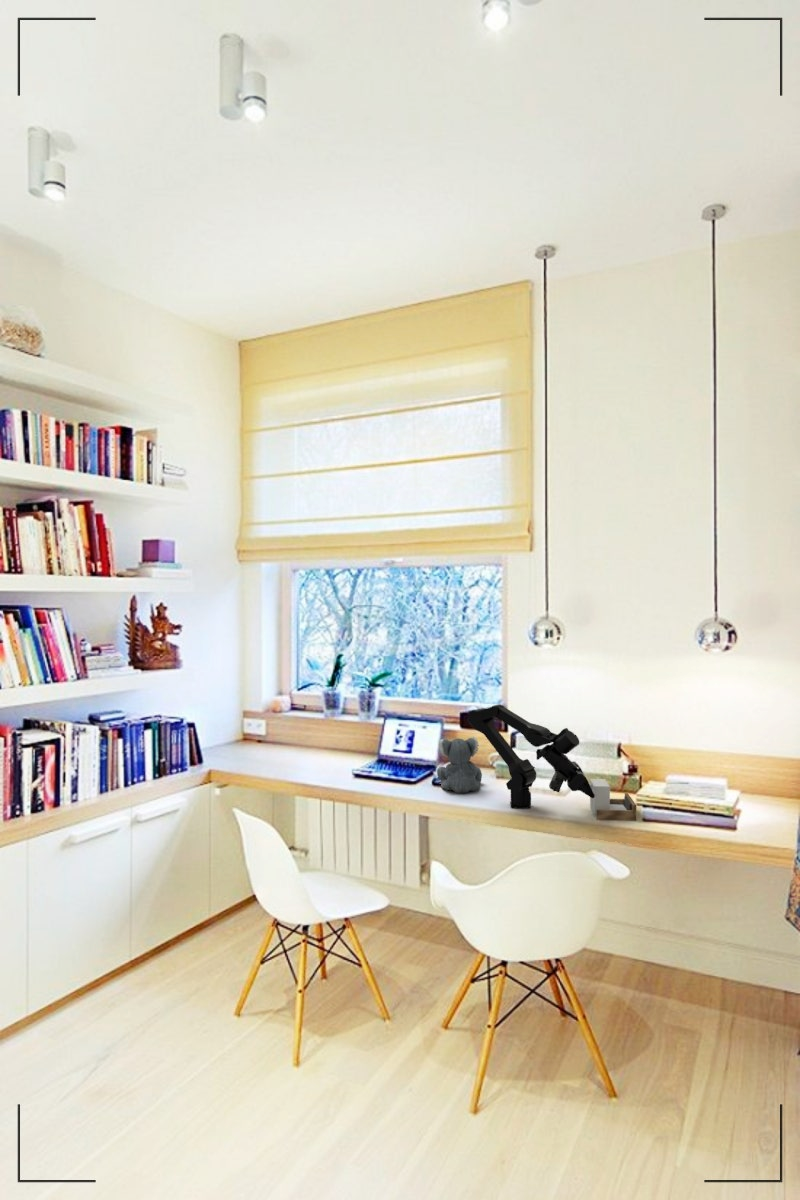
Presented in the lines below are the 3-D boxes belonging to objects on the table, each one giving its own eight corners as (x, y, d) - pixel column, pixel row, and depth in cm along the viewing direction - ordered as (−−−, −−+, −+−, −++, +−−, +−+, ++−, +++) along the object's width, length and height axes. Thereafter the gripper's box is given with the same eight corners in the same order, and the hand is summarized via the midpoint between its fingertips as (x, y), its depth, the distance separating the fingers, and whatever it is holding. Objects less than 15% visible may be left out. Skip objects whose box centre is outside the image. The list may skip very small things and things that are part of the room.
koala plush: (481, 782, 296) (480, 732, 295) (485, 794, 278) (485, 741, 277) (436, 782, 296) (436, 732, 296) (438, 795, 278) (437, 741, 278)
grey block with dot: (594, 816, 250) (594, 786, 250) (590, 807, 260) (589, 778, 259) (628, 817, 249) (628, 786, 249) (622, 808, 259) (622, 779, 258)
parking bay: (597, 819, 246) (596, 804, 246) (590, 807, 260) (590, 792, 260) (636, 820, 245) (636, 805, 245) (627, 807, 259) (627, 793, 259)
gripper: (538, 770, 264) (571, 802, 263) (543, 784, 246) (578, 818, 245) (561, 747, 263) (594, 780, 262) (567, 760, 245) (603, 794, 244)
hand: (591, 793), depth 253 cm, fingers open, 9 cm apart
